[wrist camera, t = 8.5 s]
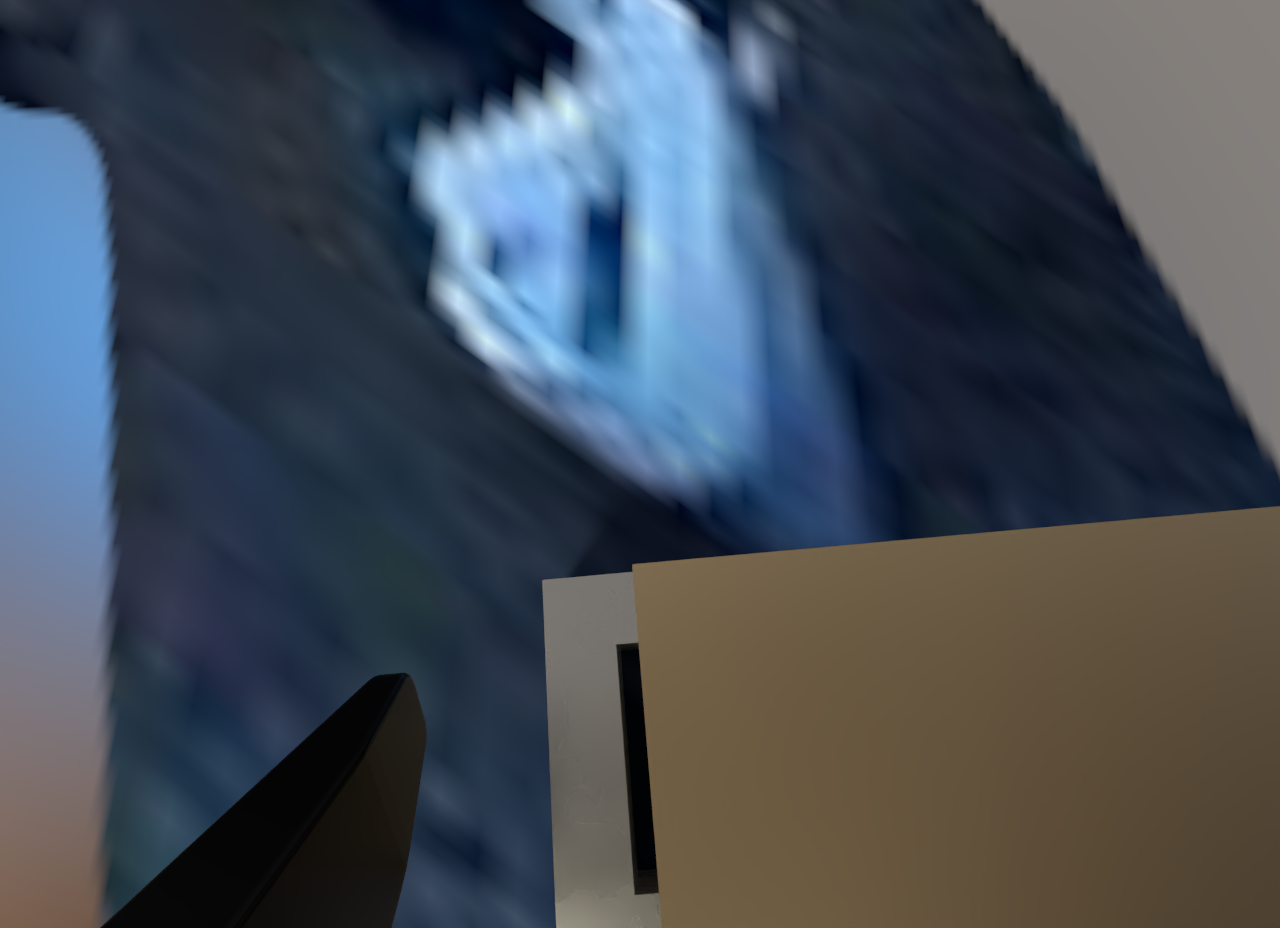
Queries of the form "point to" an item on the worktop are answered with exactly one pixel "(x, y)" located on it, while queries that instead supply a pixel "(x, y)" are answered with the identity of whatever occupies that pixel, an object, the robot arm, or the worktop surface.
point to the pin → (971, 729)
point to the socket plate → (593, 755)
